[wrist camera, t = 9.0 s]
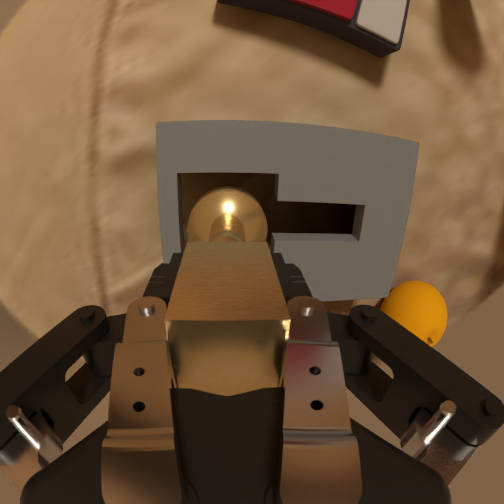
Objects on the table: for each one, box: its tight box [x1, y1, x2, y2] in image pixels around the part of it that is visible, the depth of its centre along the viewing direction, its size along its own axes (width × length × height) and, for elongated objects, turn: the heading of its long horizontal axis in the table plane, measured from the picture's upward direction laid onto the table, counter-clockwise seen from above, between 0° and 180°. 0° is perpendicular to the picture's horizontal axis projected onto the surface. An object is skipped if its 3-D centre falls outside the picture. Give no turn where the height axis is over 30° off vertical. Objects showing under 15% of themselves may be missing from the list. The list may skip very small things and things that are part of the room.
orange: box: [380, 281, 448, 347], centre depth 27 cm, size 8×8×8 cm
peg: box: [164, 186, 291, 396], centre depth 13 cm, size 5×5×12 cm
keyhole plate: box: [156, 120, 419, 301], centre depth 22 cm, size 18×13×6 cm
